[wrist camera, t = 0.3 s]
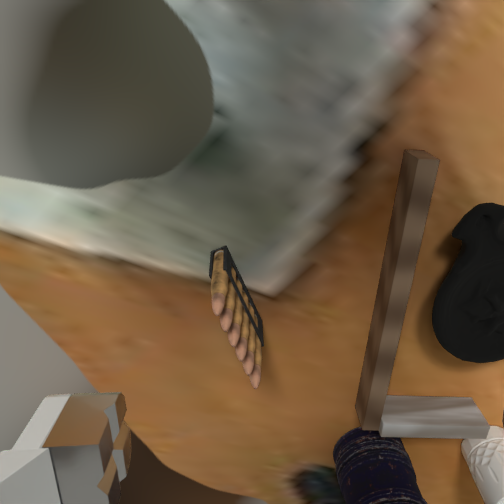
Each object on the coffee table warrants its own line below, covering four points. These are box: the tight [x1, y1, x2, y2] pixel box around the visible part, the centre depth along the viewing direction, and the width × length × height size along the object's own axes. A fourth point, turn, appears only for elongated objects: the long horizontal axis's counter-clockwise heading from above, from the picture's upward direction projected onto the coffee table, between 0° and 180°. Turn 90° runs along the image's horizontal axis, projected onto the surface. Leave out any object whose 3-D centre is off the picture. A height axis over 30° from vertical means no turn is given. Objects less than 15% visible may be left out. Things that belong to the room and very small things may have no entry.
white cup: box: [461, 426, 504, 504], centre depth 59 cm, size 8×8×10 cm
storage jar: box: [333, 427, 427, 504], centre depth 57 cm, size 10×10×15 cm
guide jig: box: [355, 150, 490, 439], centre depth 51 cm, size 34×15×5 cm, turn 177°
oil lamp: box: [432, 203, 504, 363], centre depth 50 cm, size 15×20×5 cm
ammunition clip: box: [209, 246, 264, 389], centre depth 47 cm, size 11×2×12 cm, turn 22°
